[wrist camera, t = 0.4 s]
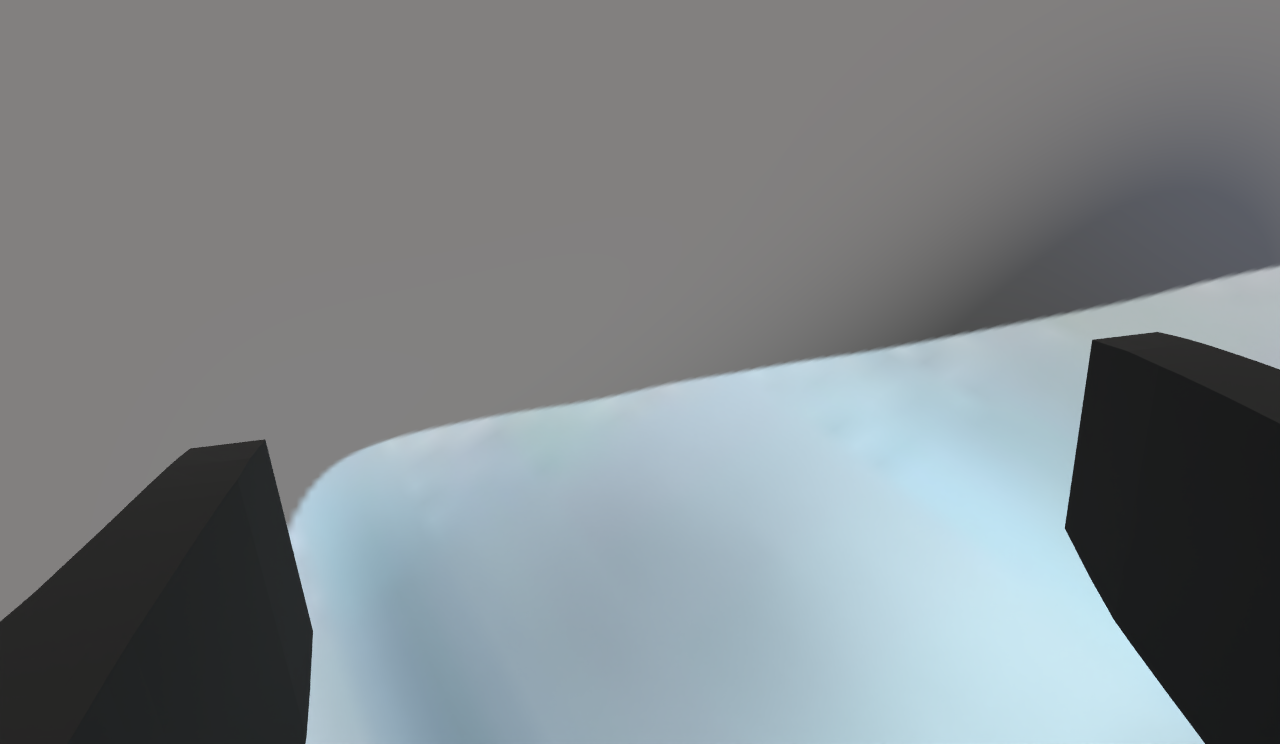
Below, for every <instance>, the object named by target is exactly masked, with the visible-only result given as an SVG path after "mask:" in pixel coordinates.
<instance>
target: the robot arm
mask: <svg viewBox="0 0 1280 744" xmlns="http://www.w3.org/2000/svg"><path fill="white" fill-rule="evenodd" d="M1065 529H1066V531H1067V533H1068V535H1069V537H1070V539H1071V541H1072V543H1073V545H1074V547H1075V549H1076V551H1077V553H1078V555H1079V557H1080V559H1081V561H1082V563H1083V565H1084V567H1085V568H1086V570H1087V572H1088V574H1089V576H1090V578H1091V580H1092V582H1093V584H1094V585H1095V587H1096V589H1097V591H1098V592H1099V594H1100V596H1101V598H1102V599H1103V601H1104V603H1105V605H1106V607H1107V608H1108V610H1109V612H1110V614H1111V615H1112V617H1113V619H1114V620H1115V622H1116V623H1117V625H1118V626H1119V628H1120V629H1121V630H1122V632H1123V633H1124V635H1125V636H1126V637H1127V639H1128V640H1129V642H1130V643H1131V644H1132V646H1133V647H1134V648H1135V650H1136V651H1137V653H1138V654H1139V655H1140V657H1141V658H1142V659H1143V661H1144V662H1145V663H1146V665H1147V666H1148V668H1149V669H1150V670H1151V672H1152V673H1153V674H1154V676H1155V677H1156V678H1157V680H1158V681H1159V683H1160V684H1161V685H1162V687H1163V688H1164V689H1165V691H1166V692H1167V693H1168V695H1169V696H1170V697H1171V699H1172V700H1173V701H1174V703H1175V704H1176V705H1177V707H1178V708H1179V709H1180V711H1181V712H1182V713H1183V715H1184V716H1185V717H1186V719H1187V720H1188V721H1189V723H1190V724H1191V725H1192V727H1193V728H1194V729H1195V731H1196V732H1197V733H1198V735H1199V736H1200V737H1201V739H1202V740H1203V741H1204V743H1205V744H1280V370H1279V369H1277V368H1274V367H1271V366H1268V365H1265V364H1263V363H1260V362H1257V361H1254V360H1251V359H1248V358H1245V357H1242V356H1239V355H1236V354H1233V353H1230V352H1227V351H1224V350H1221V349H1218V348H1215V347H1212V346H1209V345H1206V344H1202V343H1199V342H1196V341H1192V340H1188V339H1185V338H1181V337H1177V336H1173V335H1168V334H1164V333H1159V332H1154V333H1146V334H1137V335H1129V336H1121V337H1112V338H1104V339H1096V340H1092V345H1091V352H1090V359H1089V366H1088V373H1087V380H1086V387H1085V393H1084V400H1083V407H1082V414H1081V421H1080V428H1079V435H1078V442H1077V448H1076V455H1075V462H1074V469H1073V476H1072V483H1071V490H1070V496H1069V503H1068V510H1067V517H1066V524H1065ZM312 639H313V630H312V626H311V622H310V618H309V614H308V610H307V605H306V601H305V597H304V593H303V589H302V585H301V581H300V577H299V573H298V569H297V565H296V561H295V557H294V553H293V549H292V545H291V541H290V537H289V533H288V529H287V525H286V521H285V517H284V513H283V509H282V505H281V501H280V497H279V493H278V489H277V485H276V481H275V477H274V473H273V469H272V465H271V461H270V457H269V453H268V449H267V445H266V441H265V440H258V441H249V442H242V443H233V444H224V445H216V446H209V447H199V448H191V449H189V450H188V451H187V452H185V453H184V454H183V455H182V456H180V457H179V458H178V459H177V460H176V461H174V462H173V463H172V464H171V465H170V466H169V467H168V468H166V469H165V470H164V471H163V472H162V473H161V474H160V475H159V476H158V477H157V478H156V479H155V480H154V481H152V482H151V483H150V484H149V485H148V486H147V487H146V488H145V489H144V490H143V491H142V492H141V493H140V494H139V495H138V496H137V497H136V498H135V499H134V500H132V501H131V502H130V503H129V504H128V505H127V506H126V507H125V508H124V509H123V510H122V511H121V512H120V513H119V514H118V515H117V516H116V517H115V518H114V519H113V520H112V521H111V522H109V523H108V524H107V525H106V526H105V527H104V528H103V529H102V530H101V531H100V532H99V533H98V534H97V535H96V536H95V537H94V538H93V539H91V540H90V541H89V542H88V543H87V544H86V545H85V546H84V547H83V548H82V549H81V550H80V551H79V552H78V553H76V554H75V555H74V556H73V557H72V558H71V559H70V560H69V561H68V562H67V563H66V564H65V565H64V566H62V568H60V569H59V570H58V571H57V572H56V573H55V574H54V575H53V576H52V577H51V578H50V579H49V580H47V581H46V582H45V583H44V584H43V585H42V586H41V587H40V588H39V589H38V590H37V591H36V592H34V593H33V594H32V595H31V596H30V597H29V598H28V599H27V600H25V601H24V602H23V603H22V604H21V605H20V606H18V607H17V608H16V609H15V610H14V611H12V612H11V613H10V614H9V615H8V616H6V617H5V618H4V619H3V620H2V621H1V622H0V744H305V742H306V736H307V722H308V708H309V695H310V678H311V658H312Z"/></svg>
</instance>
